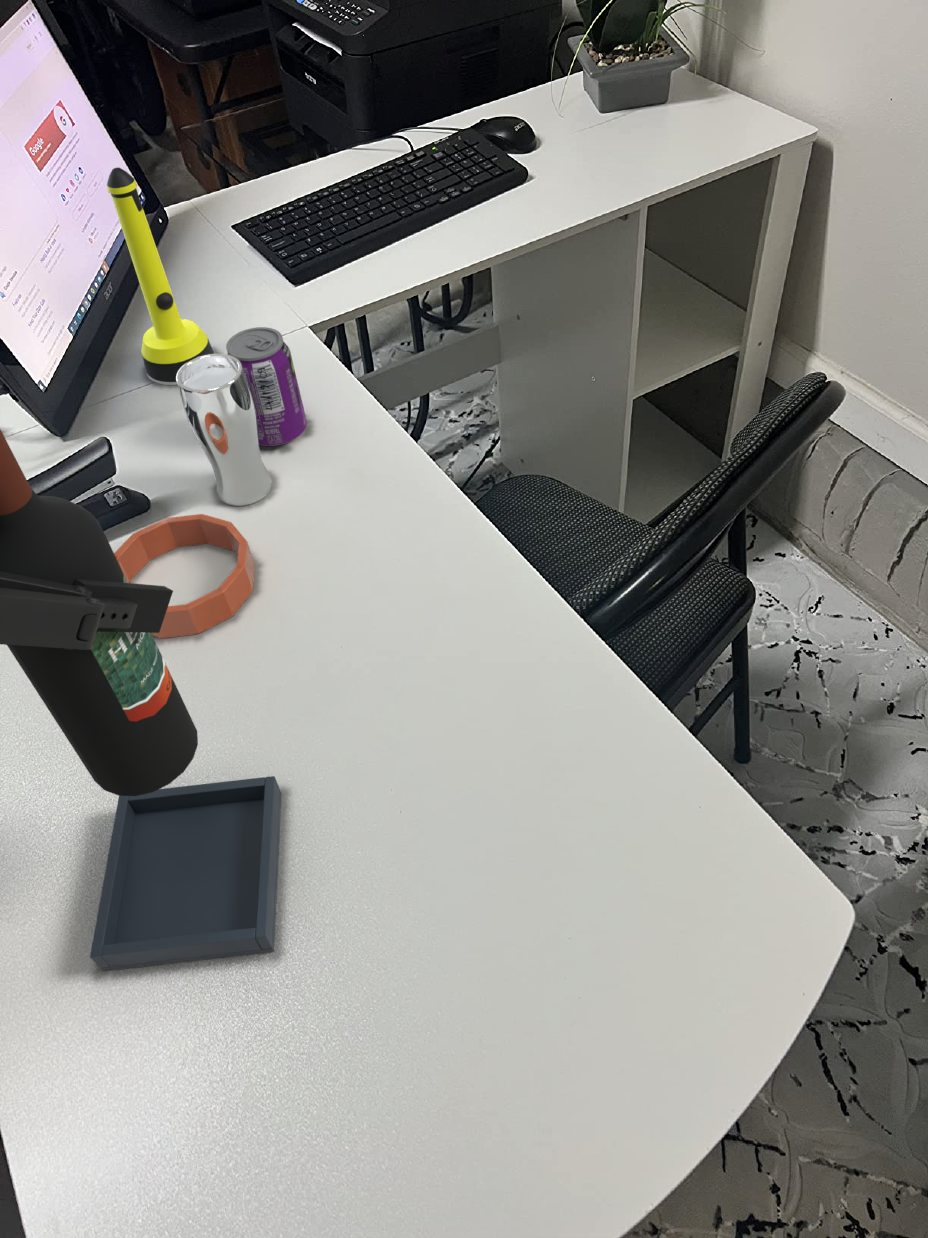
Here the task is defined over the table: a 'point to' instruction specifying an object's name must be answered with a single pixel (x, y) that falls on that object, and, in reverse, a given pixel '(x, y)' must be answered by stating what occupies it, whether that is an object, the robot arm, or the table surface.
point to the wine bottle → (93, 650)
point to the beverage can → (270, 384)
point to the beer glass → (225, 426)
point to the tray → (190, 875)
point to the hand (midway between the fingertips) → (115, 583)
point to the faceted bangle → (188, 533)
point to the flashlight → (155, 290)
